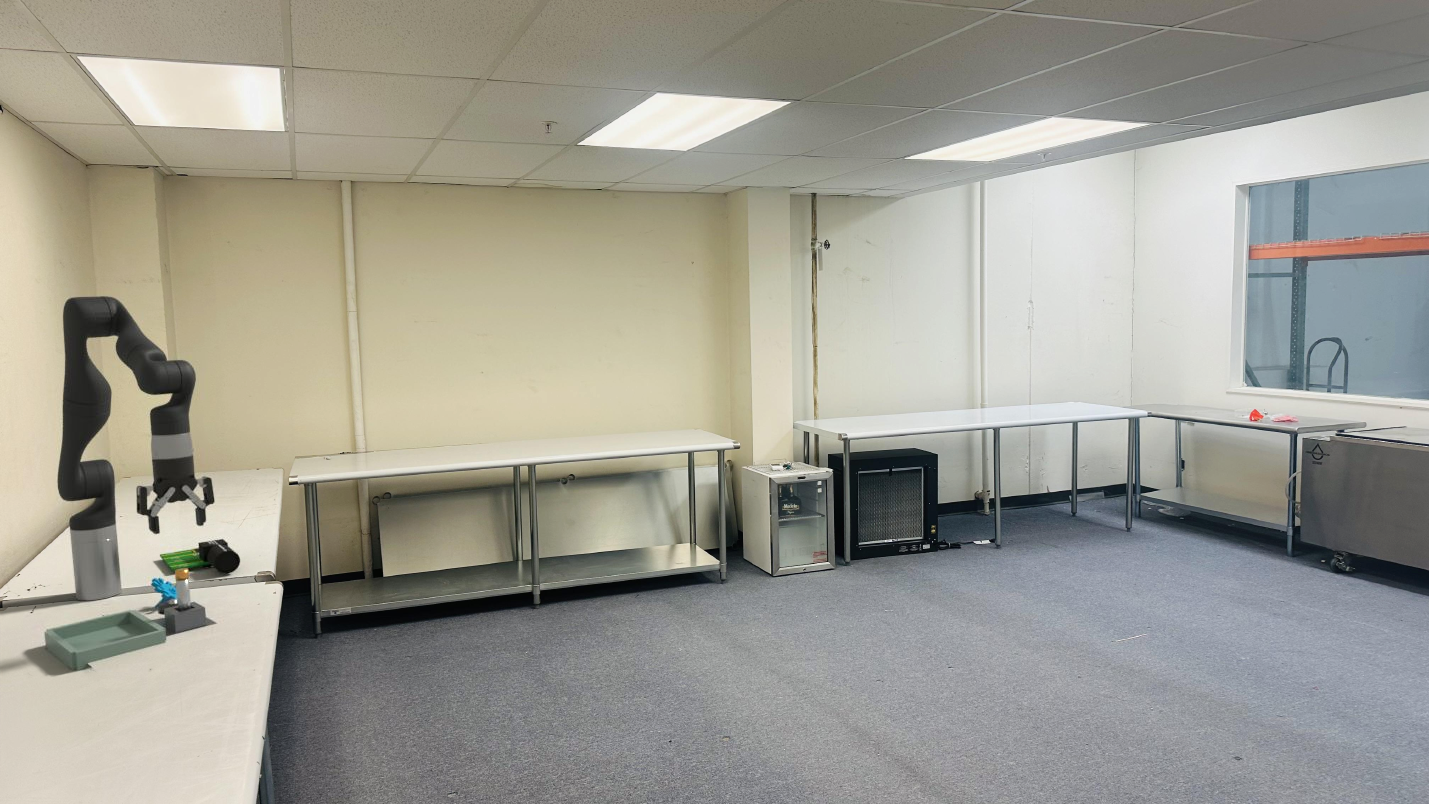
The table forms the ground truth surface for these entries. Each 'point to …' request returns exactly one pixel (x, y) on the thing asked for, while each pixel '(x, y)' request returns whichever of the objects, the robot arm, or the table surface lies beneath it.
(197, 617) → the grey slotted holder
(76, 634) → the tray
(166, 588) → the blue jagged piece
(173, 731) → the table surface
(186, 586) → the capped test tube
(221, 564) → the electronic board model
